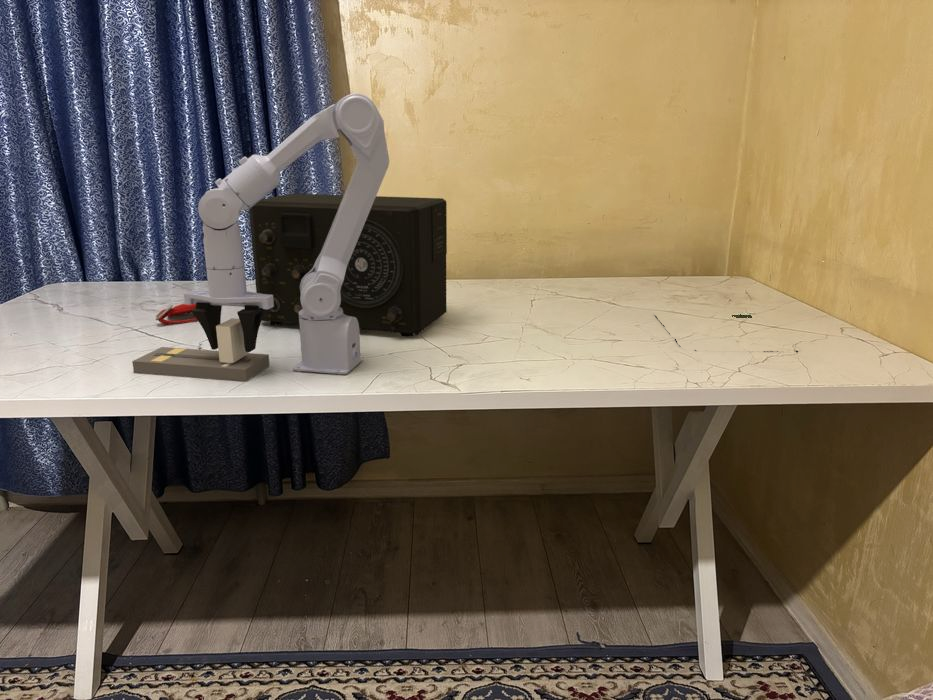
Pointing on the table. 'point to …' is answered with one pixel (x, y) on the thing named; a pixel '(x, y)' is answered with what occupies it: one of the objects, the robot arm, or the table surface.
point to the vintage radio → (356, 259)
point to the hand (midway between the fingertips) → (233, 349)
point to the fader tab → (230, 341)
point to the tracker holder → (175, 313)
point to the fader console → (199, 364)
